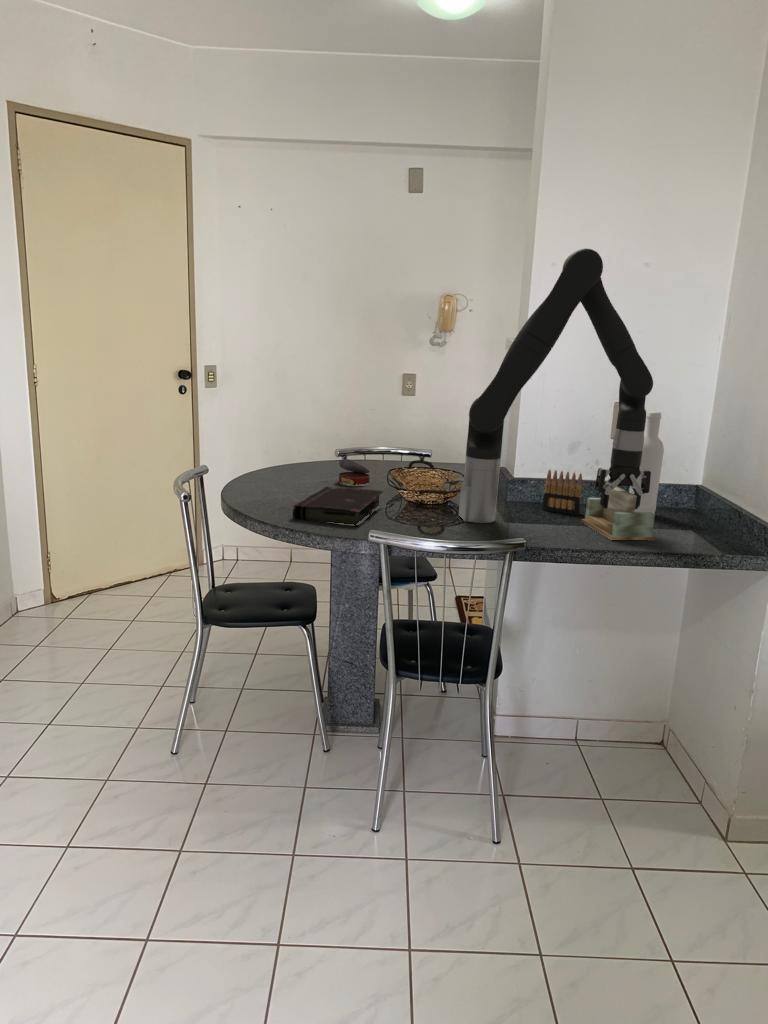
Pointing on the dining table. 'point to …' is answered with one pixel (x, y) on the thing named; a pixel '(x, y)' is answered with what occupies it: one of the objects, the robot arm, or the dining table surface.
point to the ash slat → (619, 503)
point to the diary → (338, 505)
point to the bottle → (651, 462)
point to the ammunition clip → (571, 499)
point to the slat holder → (619, 523)
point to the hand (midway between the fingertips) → (619, 508)
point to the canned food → (353, 473)
